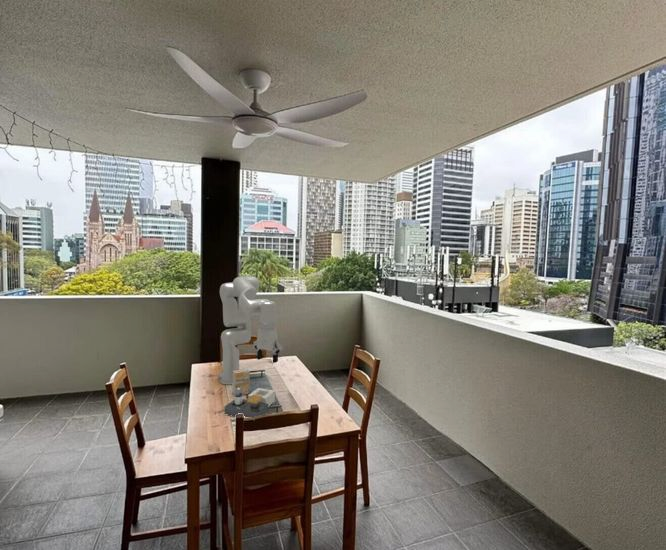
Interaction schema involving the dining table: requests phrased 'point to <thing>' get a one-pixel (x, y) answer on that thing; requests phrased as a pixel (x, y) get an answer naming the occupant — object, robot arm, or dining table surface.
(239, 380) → the supplement box
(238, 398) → the drill bit
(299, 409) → the dining table surface
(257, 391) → the white square bin
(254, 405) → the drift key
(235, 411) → the socket block
